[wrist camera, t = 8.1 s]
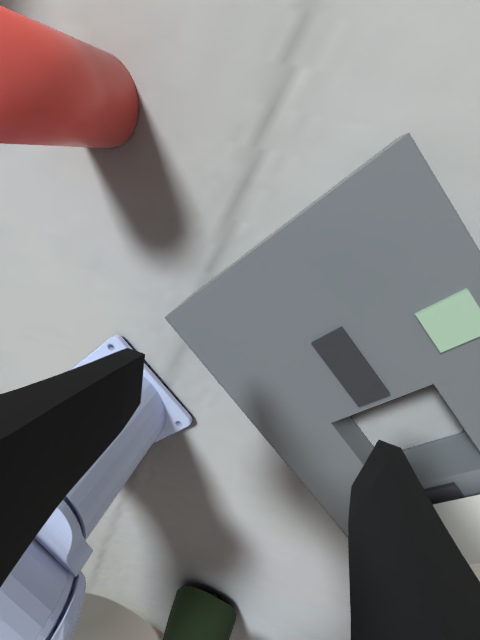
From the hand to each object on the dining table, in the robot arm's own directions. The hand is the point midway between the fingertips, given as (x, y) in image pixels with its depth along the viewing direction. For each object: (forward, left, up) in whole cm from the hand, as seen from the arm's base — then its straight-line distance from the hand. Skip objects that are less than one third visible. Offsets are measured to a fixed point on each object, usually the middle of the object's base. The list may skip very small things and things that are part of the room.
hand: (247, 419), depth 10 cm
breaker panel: (+1, -7, -9) cm, 12 cm away
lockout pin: (-2, +14, -9) cm, 16 cm away
